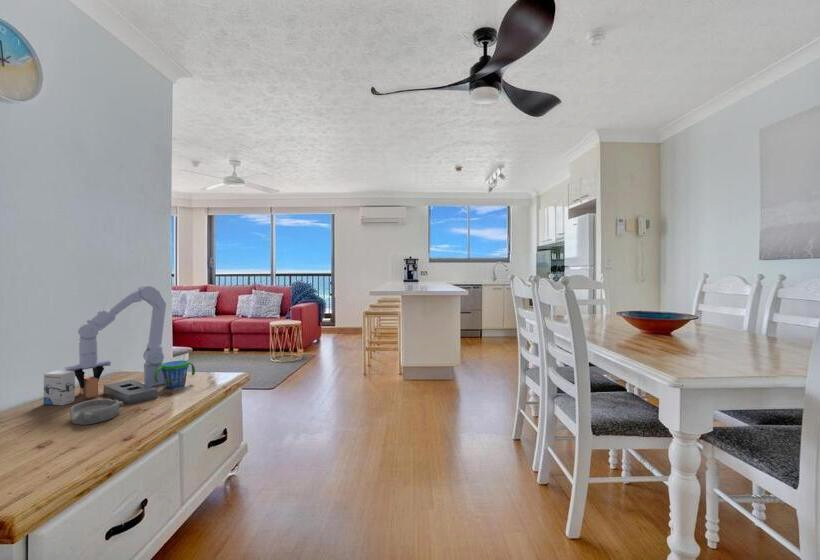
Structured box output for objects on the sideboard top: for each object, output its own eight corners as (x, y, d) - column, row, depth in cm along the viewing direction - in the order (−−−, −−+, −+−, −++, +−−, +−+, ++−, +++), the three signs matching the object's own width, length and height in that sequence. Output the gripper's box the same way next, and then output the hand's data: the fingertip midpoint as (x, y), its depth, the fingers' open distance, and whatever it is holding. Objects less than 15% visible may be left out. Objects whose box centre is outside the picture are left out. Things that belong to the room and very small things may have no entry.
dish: (91, 428, 127) (91, 412, 127) (57, 424, 130) (57, 409, 130) (131, 412, 141) (131, 398, 141) (99, 409, 144) (99, 396, 144)
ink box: (42, 404, 149) (42, 373, 148) (56, 400, 154) (55, 370, 153) (63, 405, 148) (63, 374, 148) (76, 401, 153) (75, 371, 153)
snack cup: (157, 392, 164) (156, 368, 164) (152, 386, 172) (151, 363, 172) (198, 385, 175) (198, 362, 175) (191, 380, 182) (191, 358, 182)
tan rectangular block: (88, 391, 165) (88, 375, 165) (98, 395, 159) (97, 378, 159) (79, 393, 162) (79, 376, 162) (89, 397, 157) (88, 380, 156)
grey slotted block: (131, 387, 171) (131, 379, 171) (157, 397, 157) (157, 388, 157) (103, 393, 162) (103, 385, 162) (128, 404, 149) (128, 395, 149)
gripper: (105, 349, 169) (106, 380, 169) (62, 355, 157) (62, 389, 157) (112, 351, 165) (112, 383, 165) (68, 357, 153) (68, 392, 153)
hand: (88, 386), depth 161 cm, fingers open, 4 cm apart
